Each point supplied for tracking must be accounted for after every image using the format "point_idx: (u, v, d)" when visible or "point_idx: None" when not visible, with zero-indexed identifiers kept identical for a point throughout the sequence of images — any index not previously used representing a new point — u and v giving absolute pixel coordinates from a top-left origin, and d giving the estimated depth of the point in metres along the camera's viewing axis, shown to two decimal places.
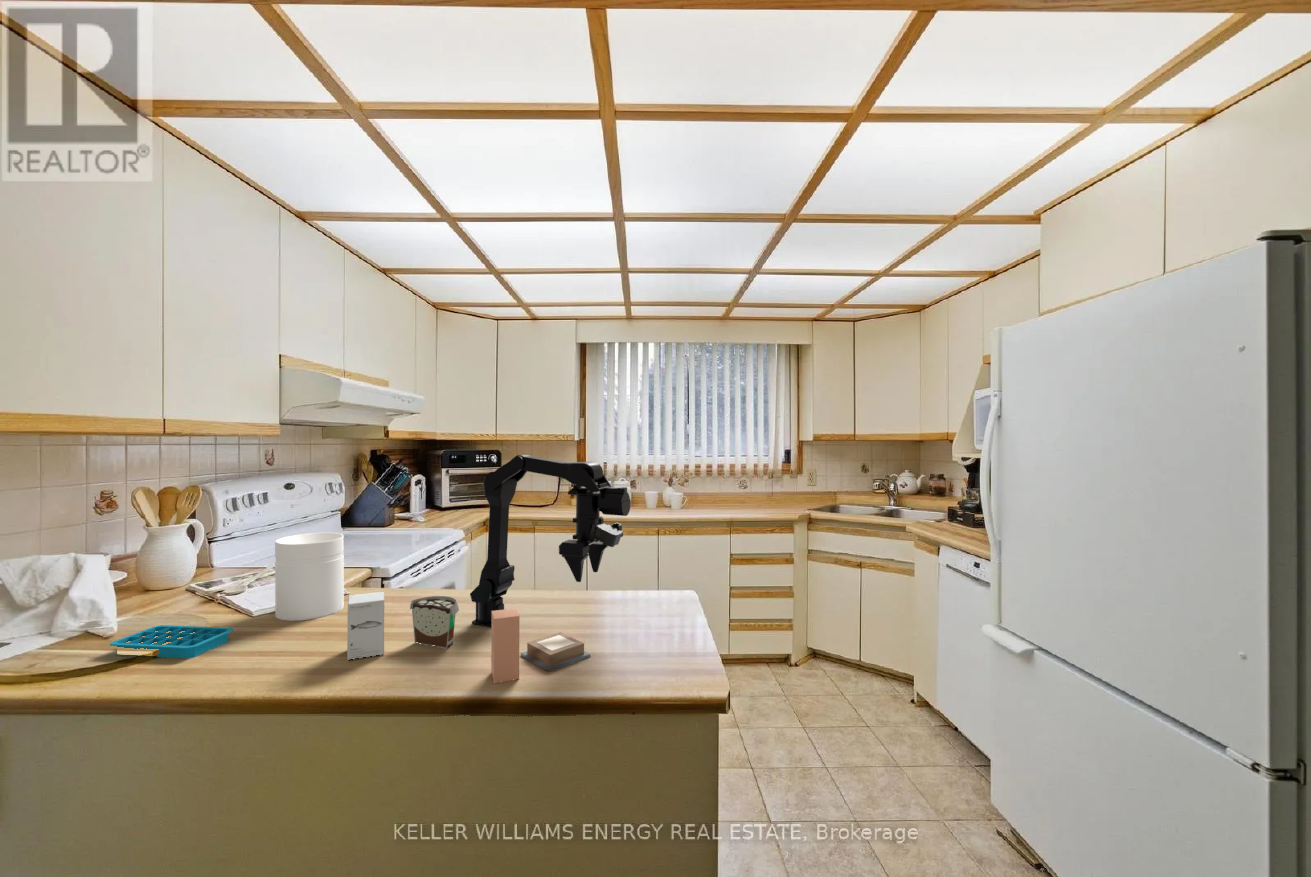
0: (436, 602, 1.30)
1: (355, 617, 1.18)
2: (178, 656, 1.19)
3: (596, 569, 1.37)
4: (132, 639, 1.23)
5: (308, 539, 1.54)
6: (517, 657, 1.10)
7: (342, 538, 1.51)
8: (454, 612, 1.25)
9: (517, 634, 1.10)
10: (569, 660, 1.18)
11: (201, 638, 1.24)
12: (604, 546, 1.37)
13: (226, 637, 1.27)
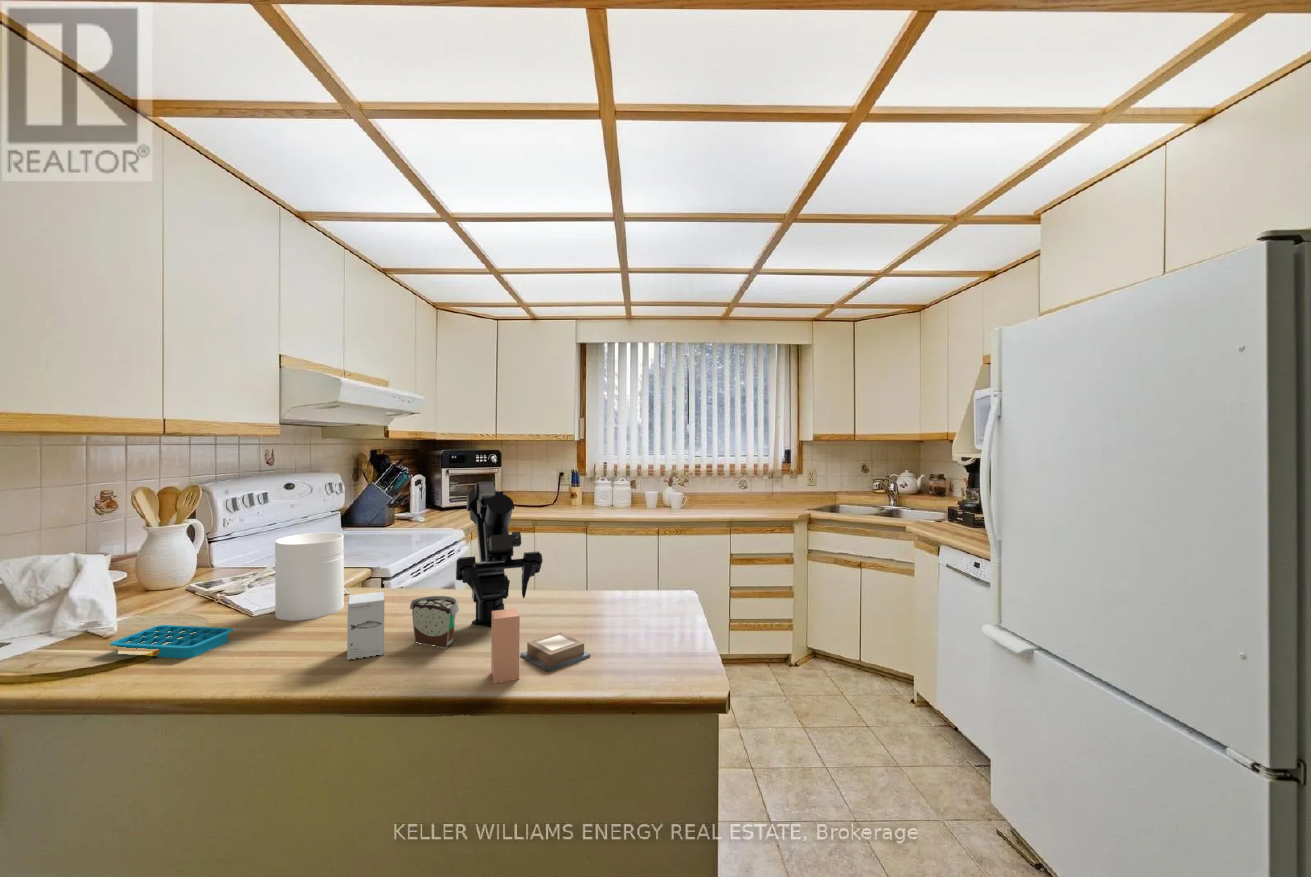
0: (436, 602, 1.30)
1: (355, 617, 1.18)
2: (178, 656, 1.19)
3: (522, 593, 1.21)
4: (132, 639, 1.23)
5: (308, 539, 1.54)
6: (517, 657, 1.10)
7: (342, 538, 1.51)
8: (454, 612, 1.25)
9: (517, 634, 1.10)
10: (569, 660, 1.18)
11: (201, 638, 1.24)
12: (524, 565, 1.24)
13: (226, 637, 1.27)
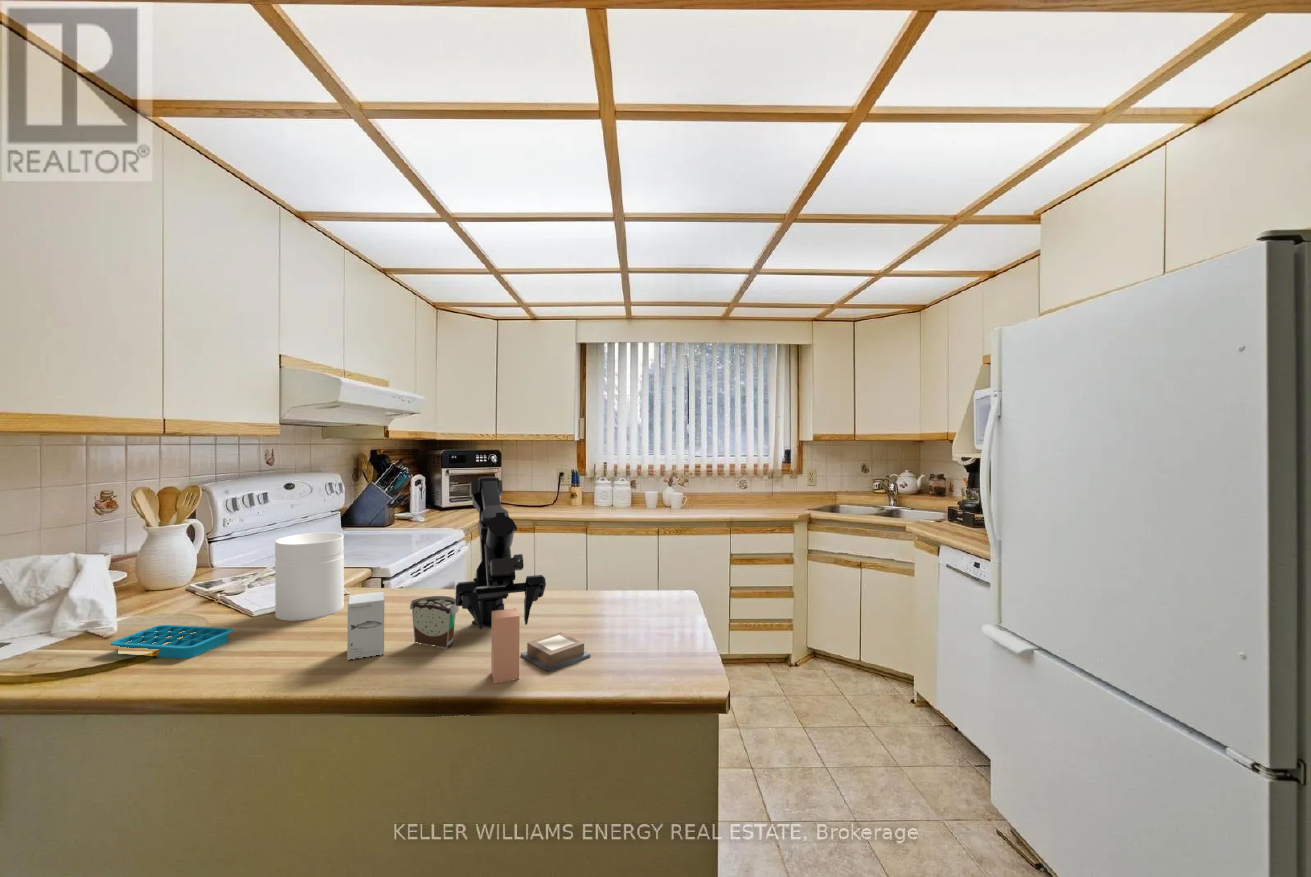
0: (436, 602, 1.30)
1: (355, 617, 1.18)
2: (177, 656, 1.19)
3: (525, 619, 1.16)
4: (133, 639, 1.24)
5: (308, 539, 1.54)
6: (517, 657, 1.10)
7: (342, 538, 1.51)
8: (454, 612, 1.25)
9: (517, 634, 1.10)
10: (569, 660, 1.18)
11: (201, 638, 1.24)
12: (526, 590, 1.18)
13: (226, 637, 1.27)
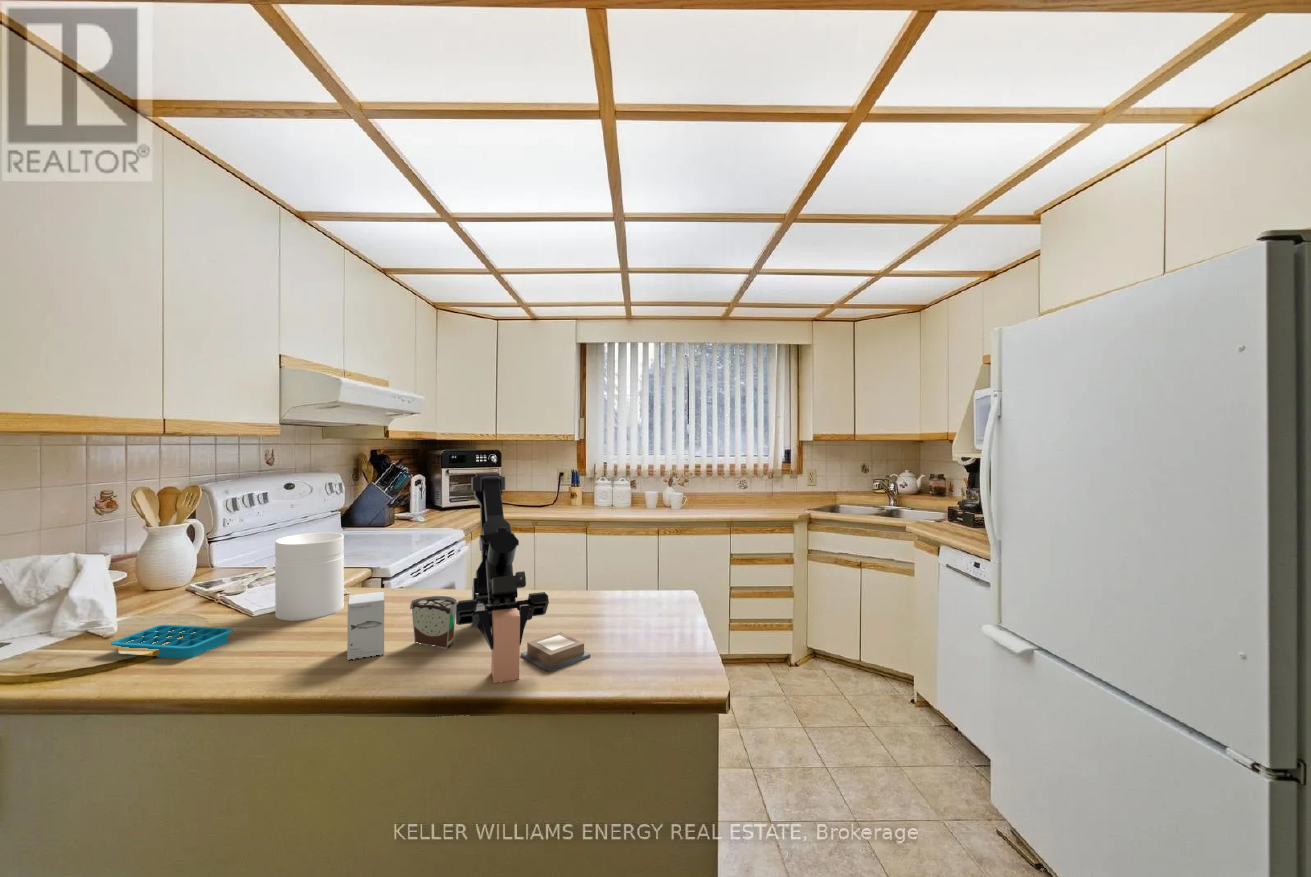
0: (436, 602, 1.30)
1: (355, 617, 1.18)
2: (177, 656, 1.19)
3: None
4: (133, 638, 1.24)
5: (308, 539, 1.54)
6: (517, 657, 1.10)
7: (342, 538, 1.51)
8: (454, 612, 1.25)
9: (517, 634, 1.10)
10: (569, 660, 1.18)
11: (200, 638, 1.24)
12: (520, 609, 1.14)
13: (226, 637, 1.27)
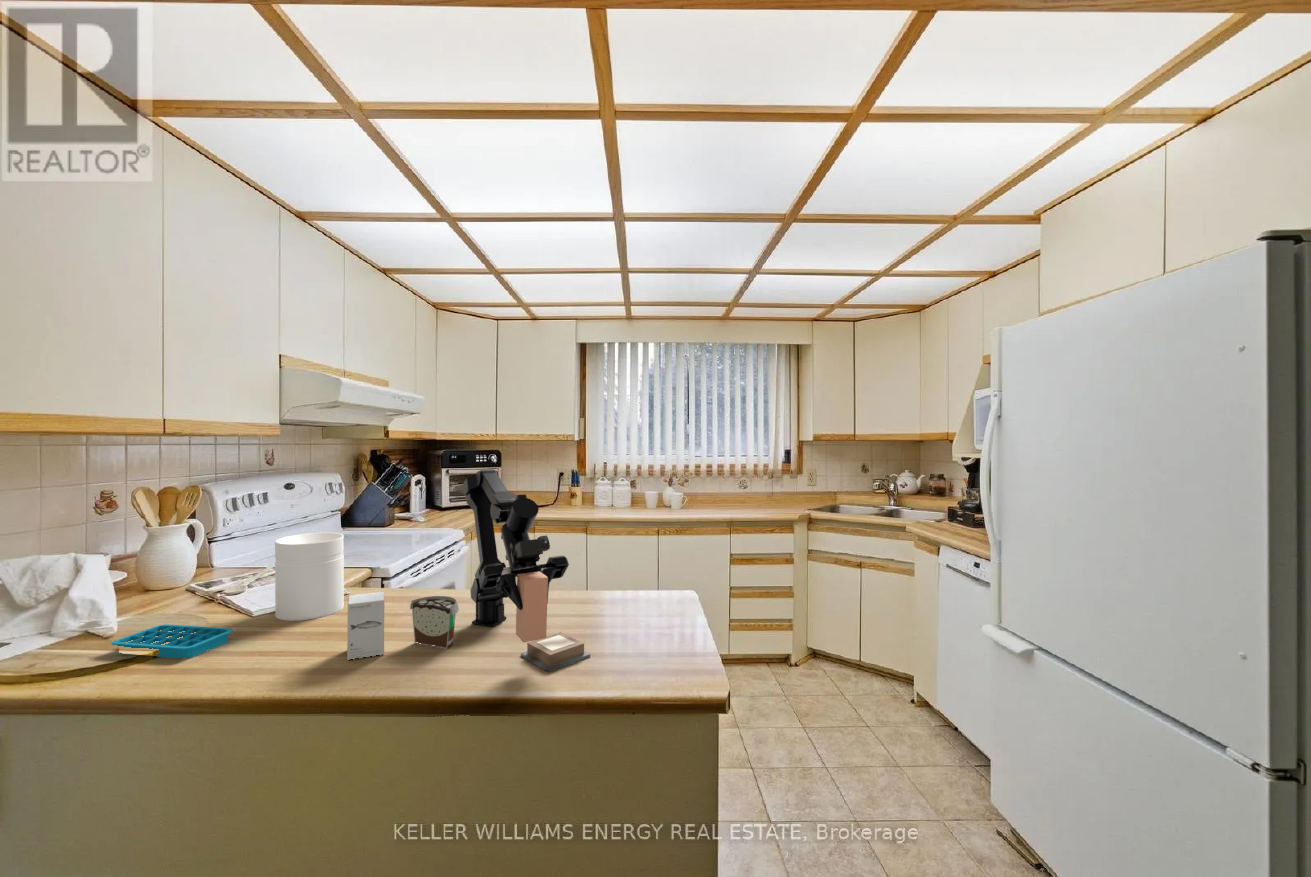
0: (436, 602, 1.30)
1: (355, 617, 1.18)
2: (176, 656, 1.19)
3: None
4: (134, 638, 1.24)
5: (308, 539, 1.54)
6: (545, 617, 1.15)
7: (342, 538, 1.51)
8: (454, 612, 1.25)
9: (545, 595, 1.15)
10: (569, 660, 1.18)
11: (200, 638, 1.24)
12: (543, 572, 1.19)
13: (225, 638, 1.27)
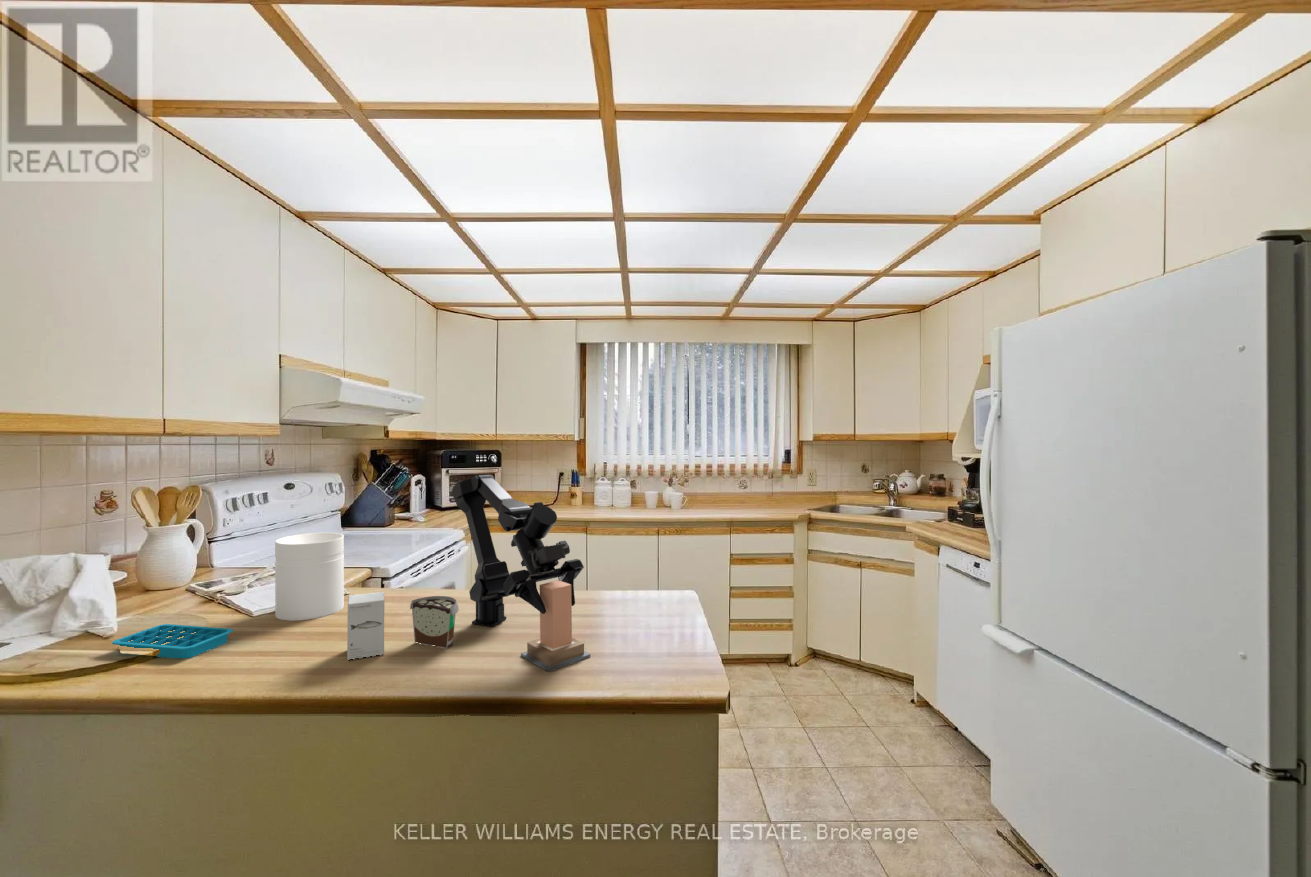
0: (436, 602, 1.30)
1: (355, 617, 1.18)
2: (175, 657, 1.19)
3: (572, 601, 1.23)
4: (135, 638, 1.24)
5: (308, 539, 1.54)
6: (570, 622, 1.21)
7: (342, 538, 1.51)
8: (454, 612, 1.25)
9: (570, 601, 1.21)
10: (569, 660, 1.18)
11: (200, 639, 1.24)
12: (567, 574, 1.25)
13: (225, 638, 1.27)
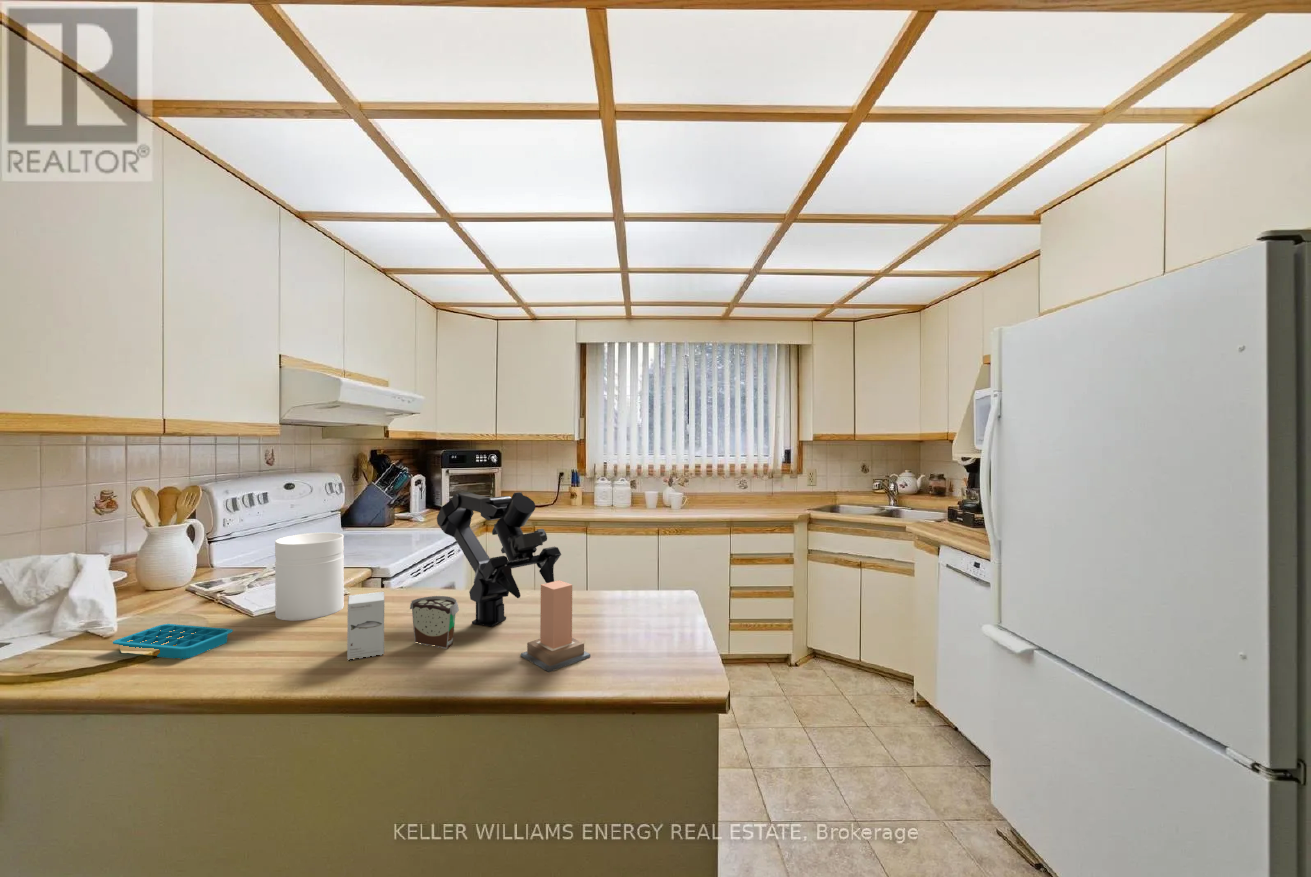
0: (436, 602, 1.30)
1: (355, 617, 1.18)
2: (175, 657, 1.18)
3: None
4: (136, 637, 1.24)
5: (308, 539, 1.54)
6: (570, 622, 1.21)
7: (342, 538, 1.51)
8: (454, 612, 1.25)
9: (570, 601, 1.21)
10: (569, 660, 1.18)
11: (200, 639, 1.24)
12: (547, 560, 1.33)
13: (225, 638, 1.27)
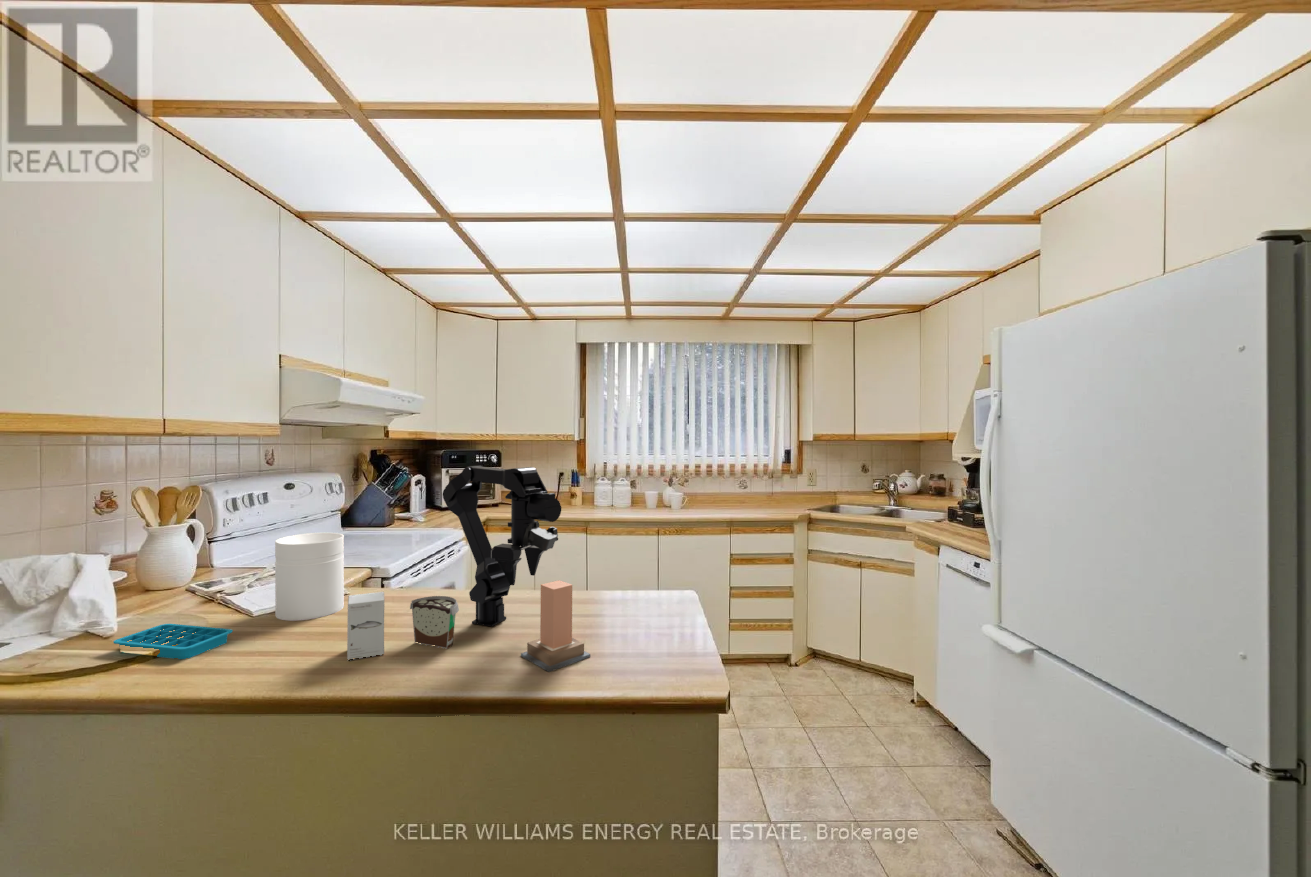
0: (436, 602, 1.30)
1: (355, 617, 1.18)
2: (174, 657, 1.18)
3: (533, 572, 1.40)
4: (136, 637, 1.24)
5: (308, 539, 1.54)
6: (570, 622, 1.21)
7: (342, 538, 1.51)
8: (454, 612, 1.25)
9: (570, 601, 1.21)
10: (569, 660, 1.18)
11: (199, 639, 1.24)
12: (541, 550, 1.40)
13: (225, 638, 1.27)
